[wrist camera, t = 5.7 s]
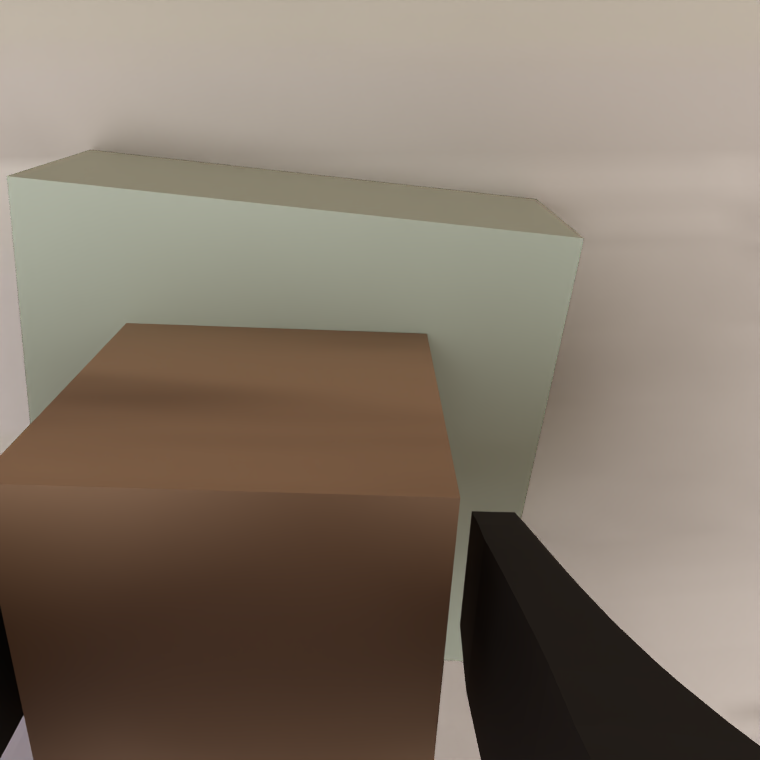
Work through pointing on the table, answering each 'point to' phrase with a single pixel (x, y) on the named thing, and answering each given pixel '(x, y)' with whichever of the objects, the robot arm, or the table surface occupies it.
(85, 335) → the sage block
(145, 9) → the table surface
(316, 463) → the walnut cube
